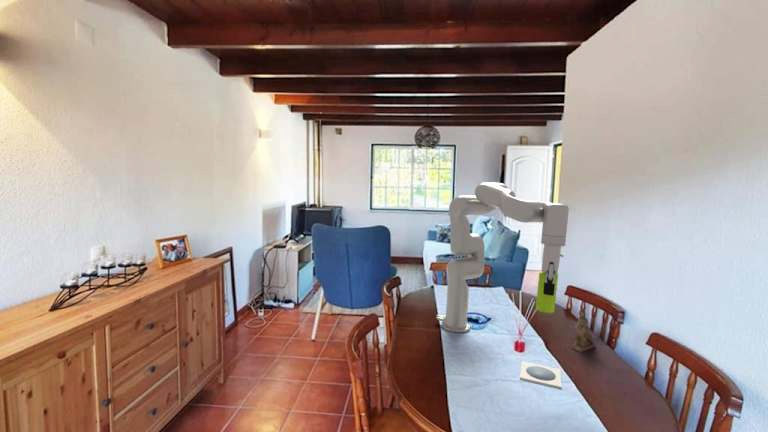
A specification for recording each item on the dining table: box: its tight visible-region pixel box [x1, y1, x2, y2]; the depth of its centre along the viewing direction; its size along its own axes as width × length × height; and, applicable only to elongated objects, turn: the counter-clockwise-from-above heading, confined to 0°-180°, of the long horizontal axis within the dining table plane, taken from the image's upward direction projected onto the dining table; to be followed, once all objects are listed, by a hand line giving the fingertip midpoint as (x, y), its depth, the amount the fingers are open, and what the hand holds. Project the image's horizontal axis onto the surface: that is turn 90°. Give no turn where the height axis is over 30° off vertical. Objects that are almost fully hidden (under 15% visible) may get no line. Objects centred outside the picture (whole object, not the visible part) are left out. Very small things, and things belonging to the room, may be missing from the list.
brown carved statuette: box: [570, 310, 596, 353], centre depth 157 cm, size 12×6×18 cm, turn 121°
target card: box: [519, 360, 563, 390], centre depth 134 cm, size 13×13×1 cm
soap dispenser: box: [535, 253, 564, 314], centre depth 131 cm, size 6×7×20 cm
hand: (548, 291), depth 131 cm, fingers closed on soap dispenser, 5 cm apart
